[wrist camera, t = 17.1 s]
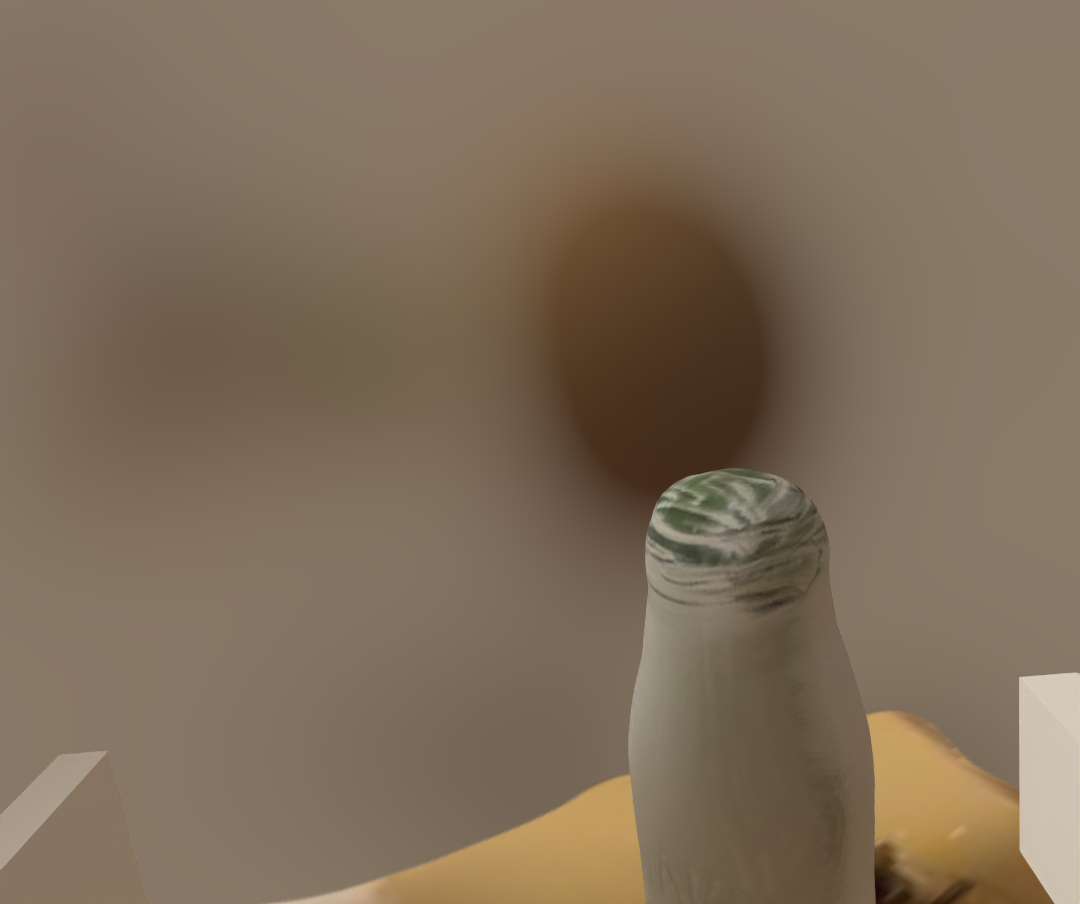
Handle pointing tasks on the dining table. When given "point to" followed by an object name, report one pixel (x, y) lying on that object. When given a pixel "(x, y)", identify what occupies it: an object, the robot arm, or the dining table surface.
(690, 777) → the glass bottle
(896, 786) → the dining table surface
